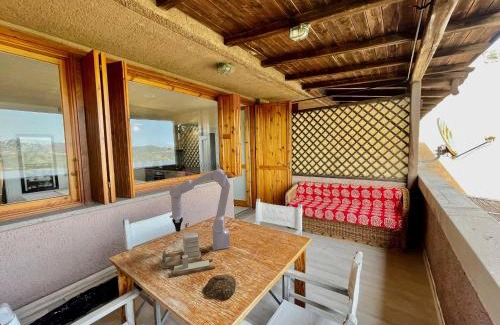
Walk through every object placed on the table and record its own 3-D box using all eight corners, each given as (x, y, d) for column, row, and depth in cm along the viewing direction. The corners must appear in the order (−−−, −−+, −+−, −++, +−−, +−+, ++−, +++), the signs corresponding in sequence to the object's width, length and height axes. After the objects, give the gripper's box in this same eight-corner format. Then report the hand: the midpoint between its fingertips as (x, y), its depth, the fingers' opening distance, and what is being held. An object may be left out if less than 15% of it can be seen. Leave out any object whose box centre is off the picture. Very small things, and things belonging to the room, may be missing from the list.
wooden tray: (199, 252, 117) (199, 243, 116) (201, 261, 107) (201, 251, 107) (164, 258, 111) (163, 249, 111) (162, 268, 102) (161, 258, 101)
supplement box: (184, 256, 113) (182, 233, 112) (198, 254, 116) (197, 230, 115) (184, 263, 106) (183, 238, 105) (199, 260, 109) (198, 236, 108)
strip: (208, 262, 107) (208, 250, 106) (210, 267, 102) (209, 254, 101) (174, 268, 102) (173, 255, 101) (174, 274, 97) (173, 261, 97)
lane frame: (209, 250, 120) (209, 248, 119) (214, 268, 101) (214, 266, 101) (170, 256, 113) (170, 254, 113) (169, 277, 95) (169, 275, 95)
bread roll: (238, 281, 91) (238, 270, 91) (231, 302, 79) (231, 289, 79) (209, 279, 93) (209, 268, 93) (198, 298, 81) (197, 286, 81)
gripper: (169, 205, 127) (171, 227, 128) (168, 211, 113) (170, 237, 114) (182, 203, 129) (183, 226, 130) (182, 210, 116) (184, 235, 116)
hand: (178, 231), depth 122 cm, fingers closed
